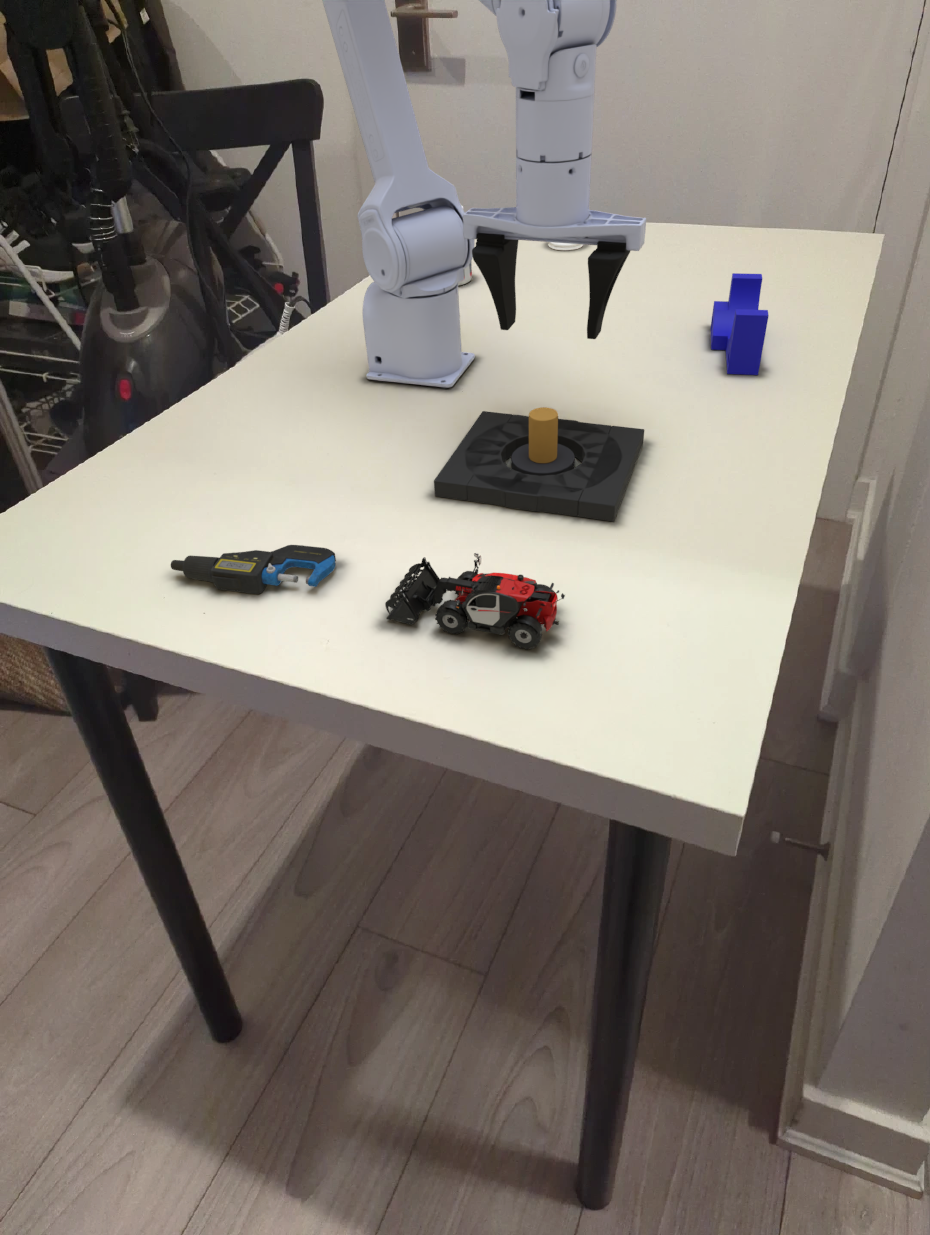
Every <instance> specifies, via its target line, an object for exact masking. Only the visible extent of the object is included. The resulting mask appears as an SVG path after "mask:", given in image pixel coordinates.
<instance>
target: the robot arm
mask: <svg viewBox="0 0 930 1235" xmlns="http://www.w3.org/2000/svg"><path fill="white" fill-rule="evenodd" d="M321 1H322V4H323V8H324V11H325V14H326V15H325V16H326V18H327V22H328V24H329V30H330V32H331V35H332V39H333V43H334V46H335V49H336V53H337V56H338V61H339V63H340V67H341V70H342V74H343V77H344V81H345V85H346V89H347V91H348V95H349V99H350V101H351V106H352V109H353V112H354V116H355V119H356V123H357V126H358V130H359V133H360V136H361V140H362V145H363V148H364V151H365V154H366V158H367V162H368V163H369V164H368V165H369V168H370V171H371V176H372V178H373V183H374V186H373V187H372V188H371V191H370V192H369V194H368V196H366V199H365V201H364V202H363V204H362V205H361V207H360V209H359V210H358V213H357V216H356V218H357V220H358V225H359V229H360V234H361V235H360V236H361V242H362V243H361V244H362V245H361V249H362V250H361V251H362V258H363V262H364V266H365V268H366V271H367V273H368V275H369V277H370V278H371V280H372V282H371V283H370V284H369V285H368V287H367V289H366V291H365V293H364V297H363V301H362V302H363V303H362V325H363V333H364V341H365V349H366V357H367V364H368V372H367V373H366V376H365V377H366V379H367V380H370V381H371V380H372V381H383V382H390V383H399V384H408V385H409V384H410V385H421V386H428V387H438V388H453V386H454V385H455V384H456V382H457V381H458V380H459V379H460V377H461V376H462V375H463V374H464V372H465V371H466V370H467V369H468V367H469V366H470V365H471V364H472V362H473V361H474V360H475V358H476V354H475V353H474V352H467V351H463V350H462V333H461V315H460V314H461V313H460V312H461V311H460V294H459V293H460V292H459V286H458V282H460V281H462V280H464V269H465V268H466V267H468V266H469V264H470V263H471V264H472V260H473V261H474V264H476V266H477V268H478V270H479V272H480V273H481V275H482V277H483V279H484V281H485V282H486V285H487V287H488V290H489V292H490V295H491V298H492V301H493V304H494V308H495V310H496V315H497V318H498V323H499V329H500V330H501V331H510V329H511V328H512V326H513V325H514V324H515V323H516V319H517V318H516V317H517V295H516V294H517V292H516V271H517V260H518V259H517V257H518V247H519V241H528V242H544V243H549V242H556V243H570V244H584V245H586V246H596V248H595V250H593V251H592V252H591V253H590V254H589V255H588V257H587V270H588V271H587V272H588V282H589V283H588V285H589V286H588V288H589V290H588V291H589V295H588V296H589V304H588V313H587V324H586V339H588V340H596V339H597V338H598V336H599V335H600V333H601V332H602V327H603V321H604V317H605V312H606V311H607V310H606V309H607V307H608V303H609V299H610V297H611V294H612V292H613V289H614V286H615V284H616V282H617V279H618V277H619V275H620V273H621V271H622V269H623V267H624V265H625V263H626V261H627V259H628V257H629V255H630V254H631V252H640V251H641V249H642V248H643V246H644V245H645V242H646V241H645V239H646V227H647V218H646V217H639V216H638V217H637V216H629V215H624V214H623V215H622V214H617V213H611V212H606V211H600V210H595V209H590V202H591V201H590V200H591V199H590V198H591V174H592V158H593V157H592V154H593V153H592V152H593V137H594V135H593V134H594V116H595V115H594V112H595V111H594V110H595V93H596V92H595V91H596V72H597V71H596V69H597V68H596V67H597V66H596V65H597V49H598V48H599V47H600V46H601V45H602V44H603V43H604V42H605V41H606V39H607V38H608V36H609V35H610V33H611V31H612V28H613V26H614V22H615V20H616V14H617V6H618V5H617V4H618V3H617V2H618V0H478V1H479V2H480V3H481V4H482V5H483V6H484V7H485V8H486V9H488V10H489V11H490V12H491V13H492V14H493V15H494V16H496V24H497V28H498V33H499V36H500V39H501V42H502V44H503V46H504V48H505V51H506V55H507V60H508V62H507V63H508V78H510V80H511V82H510V83H511V86H512V87H514V88H515V194H516V195H515V196H516V197H515V204H516V206H508V207H505V206H504V207H470V208H469V209H468V210H466V211H465V210H464V211H463V209H462V207H461V205H462V204H461V203H460V200H459V196H458V192H457V188H456V186H455V185H454V184H453V183H451V182H450V181H449V180H447V179H445V178H444V177H442V176H441V175H439V174H438V173H436V172H434V171H433V170H432V169H431V168H430V167H429V163H428V160H427V156H426V152H425V148H424V144H423V140H422V136H421V133H420V130H419V126H418V122H417V117H416V115H415V110H414V106H413V102H412V99H411V95H410V91H409V88H408V84H407V80H406V76H405V72H404V68H403V65H402V61H401V58H400V57H401V56H400V53H399V51H398V46H397V43H396V39H395V35H394V31H393V28H392V24H391V23H392V22H391V19H390V16H389V12H388V9H387V5H386V1H385V0H321ZM413 209H422V210H418V211H415V212H412V213H408V214H404V215H400V216H397V217H394V215H395V214H397V213H401V212H405V211H409V210H413ZM475 240H476V241H475ZM584 245H583V246H584Z"/></svg>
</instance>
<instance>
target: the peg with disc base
mask: <svg viewBox="0 0 930 1235" xmlns="http://www.w3.org/2000/svg"><path fill="white" fill-rule="evenodd" d="M528 416H529V444H526V445H523V446H521V447H519V448H517V449H516V450H515V451H514V452H513V454H512V456H511V457H510V469H513V470H515V471H518V472H520V473H523V474H530V475H538V476H544V475H557V474H560V473H563V472H567V471H570V470H573V469H574V468H575V463H576V462H575V461H576V457H575V456H574V453H573V452H572V451H571V450H570V449H569V448H568V447H566V446H564V445H561V444H557V438H558V419H559V413H558V411H557V410H556V409H555V408H552V407H547V406H546V407H542V406H541V407H536V408H533V409H532V410H530V411H529V413H528Z"/></svg>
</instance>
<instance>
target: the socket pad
mask: <svg viewBox="0 0 930 1235" xmlns="http://www.w3.org/2000/svg"><path fill="white" fill-rule="evenodd" d="M644 438H645V429H644V428H639V427H638V428H637V427H630V426H629V427H628V426H619V425H610V424H601V423H593V422H584V421H578V420H574V419H566V418H558V438H557V444H561V445H564V446H566V447H568V448H569V449H570V450H571V451H572V452H573V453H574V456H575V459H577V460H579V461H580V462H581V463H580V464H578V465H577V466H575V467H574V469H573V470H570V471H567V472H563V473H560V474H557V475H544V476H538V475H530V474H523V473H520V472H518V471H515V470H513V469H511V467H510V466H508V465H507V464H506V463H505V462H506V461H507V460H508V459H511V456H512V454H513V452H514V451H515V450H516V449H517V448H519V447H521V446H523V445H526V444H529V415H522V414H521V415H520V414H512V413H505V412H497V411H486V410H483V411H481V413H480V414H479V416H477V418H476V419H475V421H474V423H473V424H472V426H471V427H470V428H469V430H468V431H467V433H465V436H464V437H463V439H462V440H461V441H460V442H459V444H458V446H457V447H456V449H455V450H454V451H453V452H452V454H451V455H450V457H449V458H448V460H447V461H446V462H445V464H444V466H443V467H442V468H441V470H440V471H439V472H438V474H437V476H436V477H435V479H433V487H434V488H433V489H434V497H439V498H444V499H453V500H459V501H466V502H467V501H468V502H473V503H479V504H485V505H493V506H500V507H504V508H508V509H509V508H510V509H514V510H515V509H517V510H522V511H529V512H537V513H538V512H540V513H547V514H548V513H551V514H556V515H564V516H571V517H579V518H587V519H593V520H599V521H607V522H615V520H616V517H617V514H618V512H619V509H620V506H621V504H622V501H623V498H624V497H625V494H626V490H627V488H628V486H629V482H630V480H631V478H632V475H633V472H634V470H635V466H636V463H637V461H638V459H639V456H640V453H641V452H642V449H643V445H644V440H645V439H644Z"/></svg>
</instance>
